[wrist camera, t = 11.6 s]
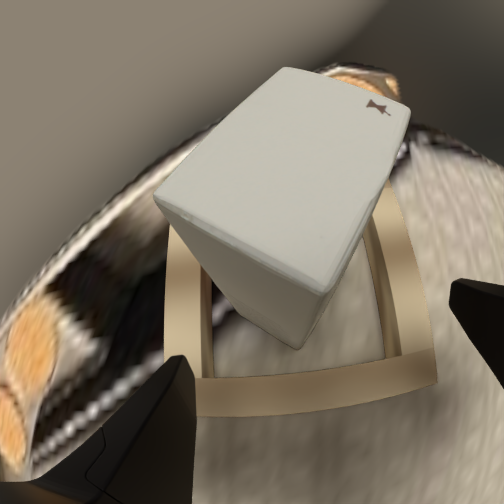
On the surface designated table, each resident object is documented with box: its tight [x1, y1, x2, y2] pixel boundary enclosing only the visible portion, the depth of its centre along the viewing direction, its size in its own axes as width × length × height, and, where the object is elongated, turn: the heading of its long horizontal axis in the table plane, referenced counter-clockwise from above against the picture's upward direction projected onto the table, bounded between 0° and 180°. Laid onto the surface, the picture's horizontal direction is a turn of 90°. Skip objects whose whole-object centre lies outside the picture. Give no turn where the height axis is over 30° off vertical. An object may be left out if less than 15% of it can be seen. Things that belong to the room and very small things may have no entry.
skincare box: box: [153, 67, 411, 350], centre depth 11 cm, size 6×4×12 cm
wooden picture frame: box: [164, 179, 438, 417], centre depth 15 cm, size 14×14×2 cm
